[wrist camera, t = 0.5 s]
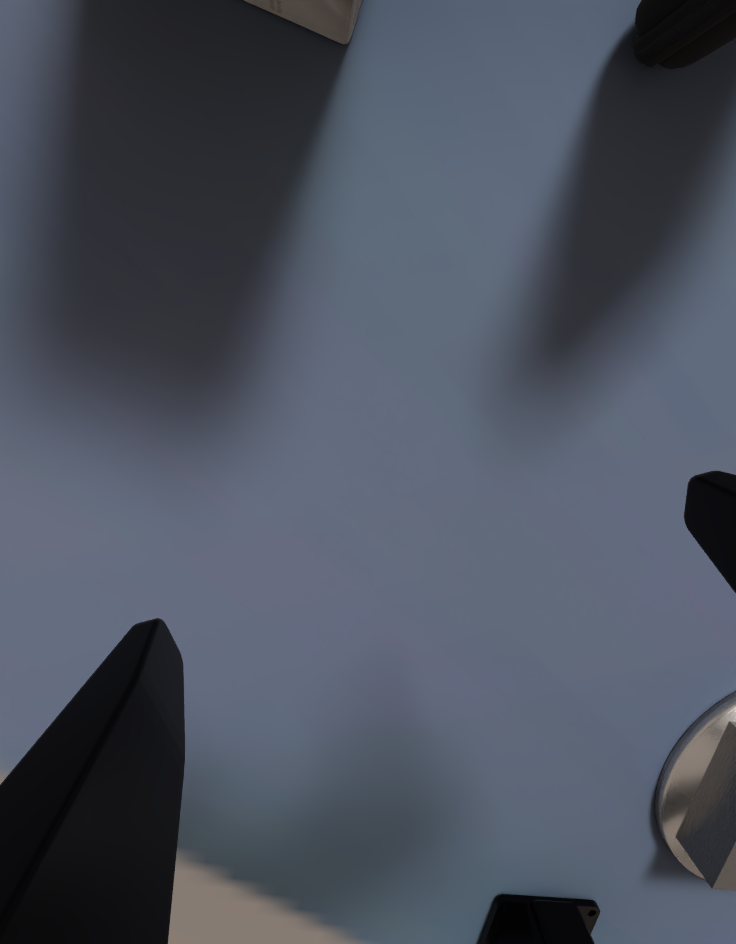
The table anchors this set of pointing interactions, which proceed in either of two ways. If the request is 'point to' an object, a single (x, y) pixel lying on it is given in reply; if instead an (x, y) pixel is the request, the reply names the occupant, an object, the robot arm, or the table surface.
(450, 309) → the table surface
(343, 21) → the coffee box
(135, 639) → the robot arm
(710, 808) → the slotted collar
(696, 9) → the carrying case or bag
